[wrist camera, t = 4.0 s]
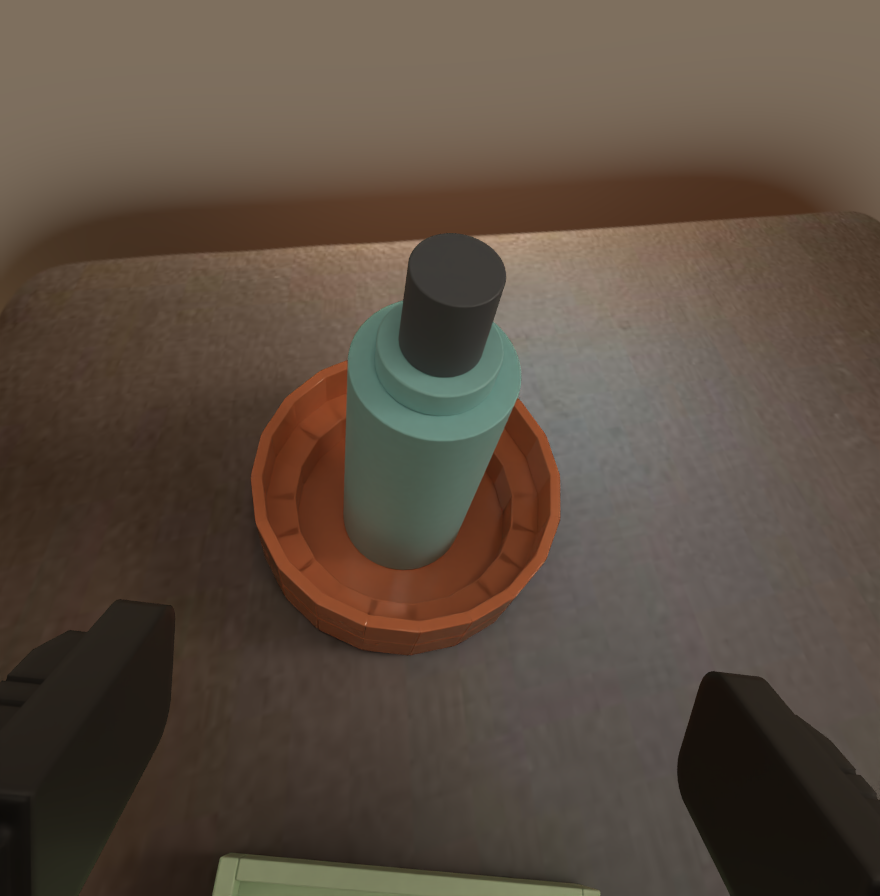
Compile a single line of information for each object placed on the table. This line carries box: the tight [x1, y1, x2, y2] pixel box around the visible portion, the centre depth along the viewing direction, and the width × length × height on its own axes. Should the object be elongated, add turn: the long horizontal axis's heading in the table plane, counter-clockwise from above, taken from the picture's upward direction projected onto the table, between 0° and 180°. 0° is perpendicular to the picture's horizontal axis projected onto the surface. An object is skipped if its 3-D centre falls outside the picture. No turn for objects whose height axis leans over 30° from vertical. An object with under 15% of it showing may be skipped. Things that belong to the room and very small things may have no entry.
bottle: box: [343, 233, 521, 570], centre depth 26 cm, size 6×6×18 cm
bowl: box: [251, 360, 560, 655], centre depth 32 cm, size 14×14×5 cm
